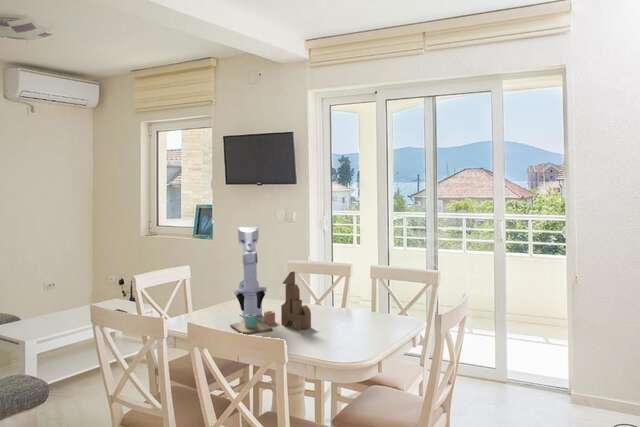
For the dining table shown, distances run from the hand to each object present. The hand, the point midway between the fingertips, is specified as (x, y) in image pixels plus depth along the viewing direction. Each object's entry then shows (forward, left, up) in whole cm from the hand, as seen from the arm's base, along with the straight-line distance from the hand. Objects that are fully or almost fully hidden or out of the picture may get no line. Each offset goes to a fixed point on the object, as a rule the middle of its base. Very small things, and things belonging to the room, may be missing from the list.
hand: (250, 309), depth 221 cm
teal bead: (0, 0, -8) cm, 8 cm away
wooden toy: (-19, +6, -9) cm, 22 cm away
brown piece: (0, 0, -9) cm, 9 cm away
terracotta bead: (-11, -5, -9) cm, 15 cm away
